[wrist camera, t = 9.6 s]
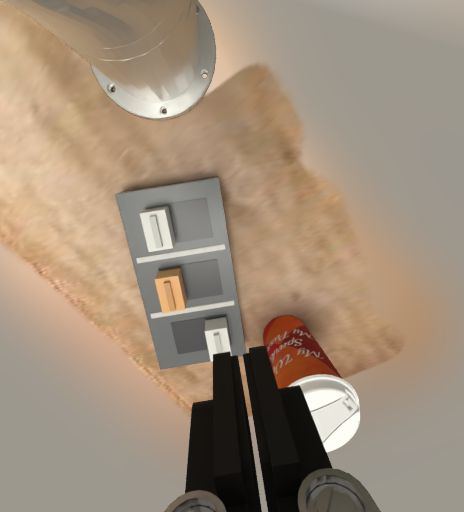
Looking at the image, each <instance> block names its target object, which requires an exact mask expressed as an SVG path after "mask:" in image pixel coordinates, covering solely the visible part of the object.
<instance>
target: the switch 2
mask: <svg viewBox="0 0 464 512" xmlns="http://www.w3.org/2000/svg"><path fill="white" fill-rule="evenodd" d="M155 284H156V288H157V292H158V296H159V300H160V304H161V309H162V313H168V312H174V311H180V310H185V309H186V304H187V297H186V292H185V287H184V283H183V278H182V273H181V268H176V269H170V270H164V271H158V273H157V275H156V277H155Z"/></svg>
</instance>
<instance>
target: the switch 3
mask: <svg viewBox="0 0 464 512" xmlns="http://www.w3.org/2000/svg"><path fill="white" fill-rule="evenodd" d="M205 336H206V341H207V346H208V351H209V356H210V361H213V354H217V353H223V352H229V351H230V353H231V356H232V352H231V344H230V338H229V332H228V327H227V321H226V317H223V318H217V319H211V320H205Z"/></svg>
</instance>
